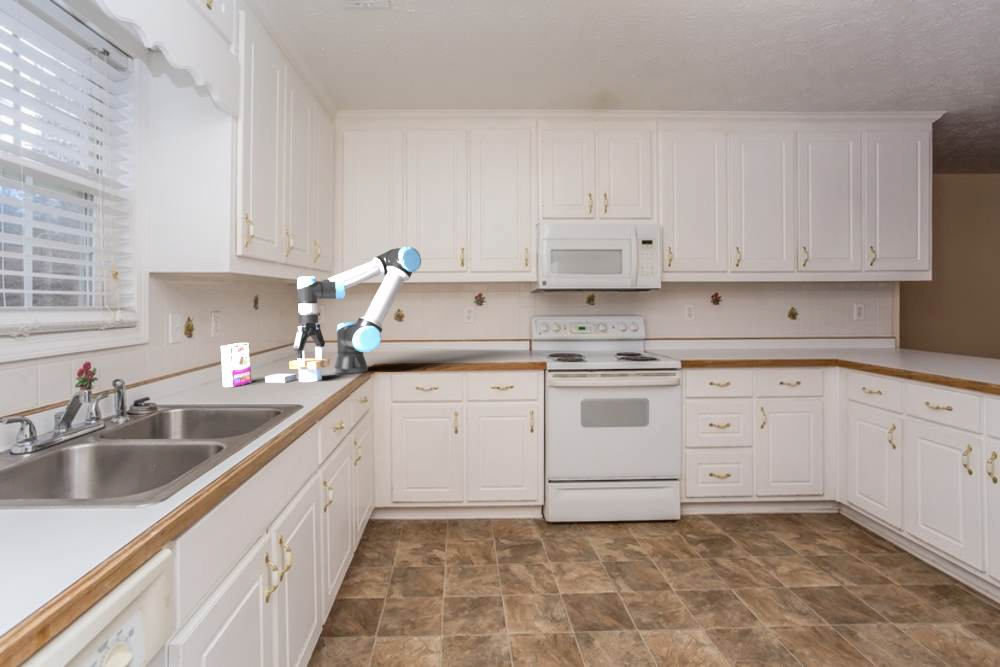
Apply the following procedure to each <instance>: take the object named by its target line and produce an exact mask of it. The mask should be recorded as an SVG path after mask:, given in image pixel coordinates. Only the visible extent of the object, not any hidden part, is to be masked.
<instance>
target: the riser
mask: <svg viewBox="0 0 1000 667" xmlns="http://www.w3.org/2000/svg"><path fill="white" fill-rule="evenodd" d="M294 381H297V373H275V374H269V375H265V376H264V382H265V383H269V384H271V383H272V384H273V383H274V384H275V383H276V384H286V383H289V382H294Z"/></svg>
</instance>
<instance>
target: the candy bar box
mask: <svg viewBox="0 0 1000 667" xmlns="http://www.w3.org/2000/svg"><path fill="white" fill-rule="evenodd" d="M220 353H221V354H220V355H221V357H220V358H221V372H222V387H224V388H237V387H239V386H245V385H248V384H251V383H252V372H251V371H252V370H251V352H250V343H248V342H238V343H233V344H227V345H221V346H220Z"/></svg>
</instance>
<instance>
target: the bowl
mask: <svg viewBox="0 0 1000 667" xmlns="http://www.w3.org/2000/svg"><path fill="white" fill-rule="evenodd" d="M322 369H323V368H320V369H297V370H298V372H297V374H298V382H300V383H310V382H311V383H312V382H319V381H320V382H321V381H322V380H323V370H322Z"/></svg>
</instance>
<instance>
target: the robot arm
mask: <svg viewBox="0 0 1000 667" xmlns="http://www.w3.org/2000/svg"><path fill="white" fill-rule="evenodd" d="M421 265H422V257H421V254H420V253H419V252H418V250H417V249H416V248H414V247H411V246H402V247H397V248H392V249H389V250H388V251H386V252H384V253H382V254H381V253H380V254H379V255H377V256H374V257H373V258H372V260H370V261H368V262H365V263H363V264H361V265H358V266H355V267H353V268H351V269H348V270H345V271H343V272H341V273H338V274H335V275H333V276H331V277H328V278H326V279H323V280H321V281H318V280H317V277H316V276H299V277H298V278H297V282H296V283H297V284H296V286H297V287H296V289H297V300H298V301H297V302H298V303H297V304H298V307H297V308H298V314H299V315H298V323H299V324H301V325H300V326H297V327H296V335H295V340H294V344H293V350H294V351H295V352H297V353H296V354H297V355H296V356H297V360H298V367H305V359H306V358H305V350H304V349H305V346H306V344H307V341H308V338H310V337H311V339H312V341H313V342H314V345H315V348H314V349H315V359H323V348H324V347H325V344H326V342H325V339H324V336H323V333H322V330H321V324H317V323H319V315H318V314H317V313H318V312H319V310H318V309H319V308H318V301H319V300H341V299H342V300H343V299H344V298H345V296H346V291H347V289H349V288H351V287H353V286H356V285H359V284H361V283H364V282H366V281H369V280H371V279H373V278H376V277H378V276H380V277H383V276H384V279H383V281H381V282H382V283H381V284H380V286H379V287H378V289H377V291H376V293H375V295H374V297H373V299H372V301H371V302H370V304H369V307H368V308H367V310H366V311H365V314H364V315H363V316H361V317H358V320H357V321H352V322H351V321H348V322H341V323H338V325H337V327H336V341H337V346H336V347H337V358H336V360H335V364H334V368H333V370H334V371H333V372H334V373H335V374H358V373H359V374H360V373H365V372H368V370H369V368H368V364H367V361H366V358H365V356H364V353H368V352H372V351H375V350H376V349H377V348H378V347H379V346H380V344H381V341H382V335H381V333H382V332H383V330H384V329H383V326H382V324H383V322H384V321H385V319H386V316H387V315H388V313H389V311H390V309H391V307H392V305H393V304H394V302H395V299H396V297H397V296H398V294H399V292H400V290H401V288H402V286H403V284H404V283H405V281H408V280H410V278H411V276H412V274H413V273H415V272H416V271H418V270H419V268H420V267H421Z"/></svg>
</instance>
